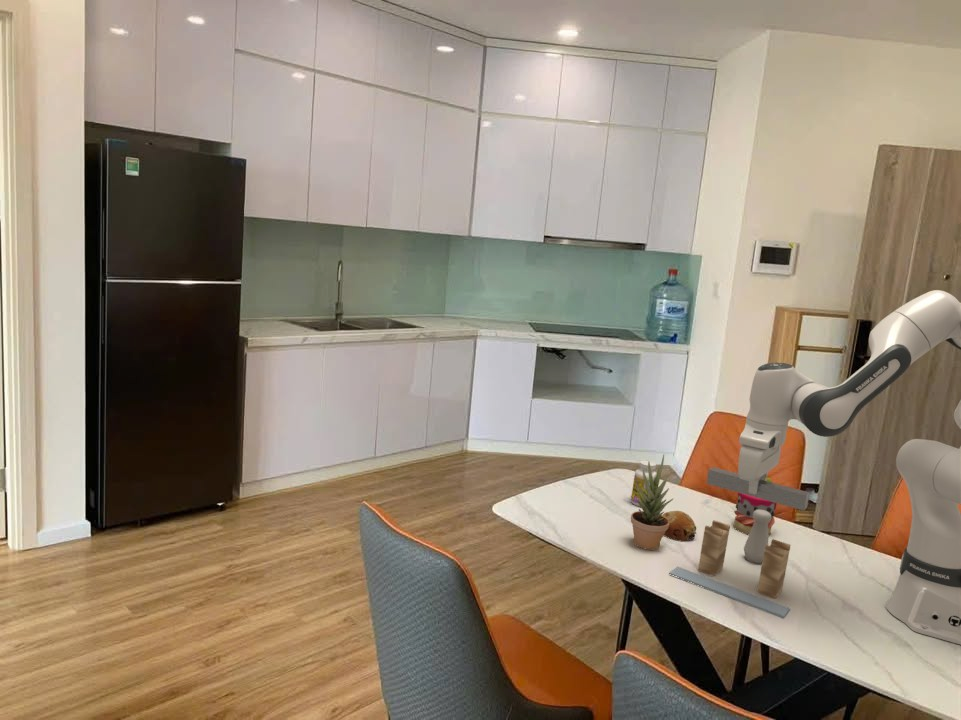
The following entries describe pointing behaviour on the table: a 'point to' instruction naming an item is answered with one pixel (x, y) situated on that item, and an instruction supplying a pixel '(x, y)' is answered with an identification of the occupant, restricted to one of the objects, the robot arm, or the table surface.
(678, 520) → the bread roll
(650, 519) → the potted plant
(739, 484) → the bar
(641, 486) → the supplement bottle
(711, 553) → the stand far
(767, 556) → the stand near
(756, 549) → the salt shaker
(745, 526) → the cake
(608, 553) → the table surface
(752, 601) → the grey flat bar
